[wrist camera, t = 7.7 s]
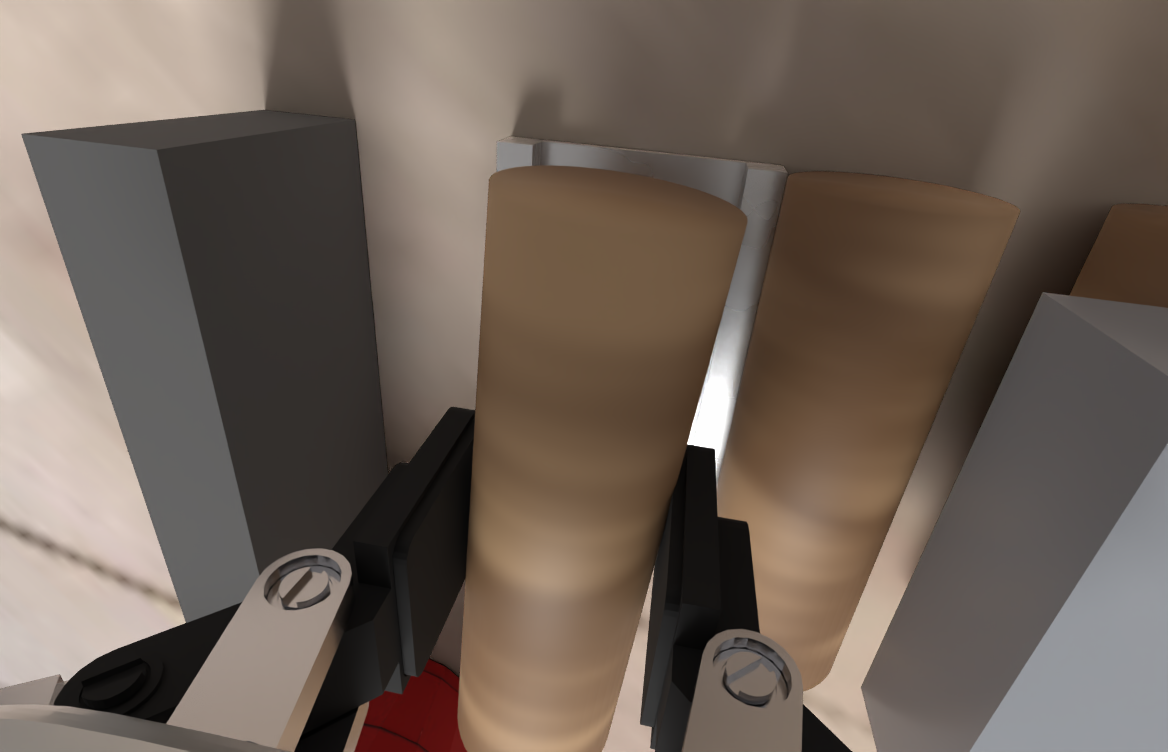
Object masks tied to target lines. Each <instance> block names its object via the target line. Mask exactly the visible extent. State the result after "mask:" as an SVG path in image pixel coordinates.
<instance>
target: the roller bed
mask: <svg viewBox="0 0 1168 752" xmlns="http://www.w3.org/2000/svg"><path fill="white" fill-rule="evenodd" d="M1019 214H1020V210H1019V208H1017V207H1016V206H1014V205H1012V204H1010V203H1008V202H1005V201H1003V200H1000V199H997V198H994V197H990V196H987V195H983V194H979V193H976V192H972V191H967V190H963V189H959V188H954V187H949V186H944V185H939V184H933V183H928V182H922V181H916V180H910V179H903V178H896V177H888V176H880V175H871V174H861V173H849V172H830V171H809V172H798V173H794V174H791V175H789V176H788V178H787V183H786V187H785V191H784V196H783V200H782V205H781V209H780V213H779V218H778V222H777V226H776V231H775V235H774V240H773V244H772V248H771V253H770V257H769V261H768V266H767V270H766V275H765V279H764V283H763V288H762V292H761V296H760V301H759V305H758V310H757V314H756V318H755V323H754V327H753V332H752V336H751V340H750V345H749V349H748V353H747V358H746V362H745V367H744V371H743V375H742V380H741V384H740V388H739V393H738V397H737V402H736V406H735V410H734V415H733V419H732V424H731V428H730V432H729V437H728V441H727V445H726V450H725V454H724V459H723V463H722V467H721V472H720V476H719V480H718V485H717V513H718V517H723V518H729V519H735V520H740V521H746V522H747V523H748V526H749V533H750V542H751V552H752V561H753V571H754V580H755V590H756V599H757V609H758V619H759V628H760V634H762V635H764V636H767V637H769V638H771V639H772V640H774V641H775V642H776V643H778V644H779V645H780V646H782V647H783V648H784V649H785V650H786V651H787V652H788V654H789V655H790V656H791V657H792V658H793V659H794V661H795V663H796V665H797V667H798V669H799V671H800V673H801V677H802V684H803V691H806V690H809V689H811V688H813V687H815V686H816V685H818V684H819V683H821V682H822V681H823V680H824V679H825V678H826V677H827V675H828V674H829V672H830V670H831V668H832V665H833V663H834V661H835V658H836V656H837V653H838V651H839V649H840V646H841V644H842V641H843V639H844V636H845V634H846V632H847V629H848V627H849V624H850V622H851V620H852V617H853V615H854V612H855V610H856V607H857V605H858V603H859V600H860V598H861V595H862V593H863V591H864V588H865V586H866V583H867V581H868V578H869V576H870V574H871V571H872V569H873V566H874V564H875V562H876V559H877V557H878V554H879V552H880V549H881V547H882V545H883V542H884V540H885V537H886V535H887V533H888V530H889V528H890V525H891V523H892V520H893V518H894V516H895V513H896V511H897V508H898V506H899V504H900V501H901V499H902V496H903V494H904V491H905V489H906V487H907V484H908V482H909V479H910V477H911V475H912V472H913V470H914V467H915V465H916V463H917V460H918V458H919V455H920V453H921V450H922V448H923V446H924V443H925V441H926V438H927V436H928V434H929V431H930V429H931V426H932V424H933V421H934V419H935V417H936V414H937V412H938V409H939V407H940V405H941V402H942V400H943V397H944V395H945V392H946V390H947V388H948V385H949V383H950V380H951V378H952V376H953V373H954V371H955V368H956V366H957V363H958V361H959V359H960V356H961V354H962V351H963V349H964V347H965V344H966V342H967V339H968V337H969V334H970V332H971V330H972V327H973V325H974V322H975V320H976V318H977V315H978V313H979V310H980V308H981V305H982V303H983V301H984V298H985V296H986V293H987V291H988V289H989V286H990V284H991V281H992V279H993V276H994V274H995V272H996V269H997V267H998V264H999V262H1000V260H1001V257H1002V255H1003V252H1004V250H1005V248H1006V245H1007V243H1008V240H1009V238H1010V235H1011V233H1012V231H1013V228H1014V226H1015V223H1016V221H1017V219H1018V216H1019ZM1069 296H1077V297H1085V298H1093V299H1101V300H1109V301H1117V302H1125V303H1133V304H1141V305H1149V306H1157V307H1165V308H1168V206H1162V205H1150V204H1117V205H1113V206H1112V208H1111V210H1110V212H1109V214H1108V216H1107V218H1106V220H1105V222H1104V224H1103V226H1102V228H1101V230H1100V233H1099V235H1098V237H1097V239H1096V241H1095V243H1094V245H1093V247H1092V249H1091V251H1090V253H1089V255H1088V257H1087V259H1086V262H1085V264H1084V266H1083V268H1082V270H1081V272H1080V274H1079V276H1078V278H1077V280H1076V282H1075V284H1074V286H1073V288H1072V290H1071V293H1070V295H1069Z"/></svg>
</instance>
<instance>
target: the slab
mask: <svg viewBox="0 0 1168 752" xmlns="http://www.w3.org/2000/svg"><path fill="white" fill-rule="evenodd" d="M861 689H862V693H863V697H864V701H865V705H866V709H867V713H868V717H869V721H870V725H871V729H872V733H873V737H874V741H875V745H876V749H877V752H1168V308H1165V307H1157V306H1149V305H1141V304H1133V303H1125V302H1117V301H1109V300H1101V299H1093V298H1085V297H1077V296H1069V295H1061V294H1053V293H1045V292H1042V295H1041V297H1040V299H1039V301H1038V303H1037V306H1036V308H1035V310H1034V312H1033V314H1032V316H1031V319H1030V321H1029V323H1028V325H1027V327H1026V329H1025V332H1024V334H1023V336H1022V338H1021V340H1020V342H1019V345H1018V347H1017V349H1016V351H1015V353H1014V356H1013V358H1012V360H1011V362H1010V364H1009V366H1008V369H1007V371H1006V373H1005V375H1004V377H1003V379H1002V382H1001V384H1000V386H999V388H998V390H997V393H996V395H995V397H994V399H993V401H992V403H991V406H990V408H989V410H988V412H987V414H986V416H985V419H984V421H983V423H982V425H981V427H980V430H979V432H978V434H977V436H976V438H975V440H974V443H973V445H972V447H971V449H970V451H969V453H968V456H967V458H966V460H965V462H964V464H963V466H962V469H961V471H960V473H959V475H958V477H957V480H956V482H955V484H954V486H953V488H952V490H951V493H950V495H949V497H948V499H947V501H946V503H945V506H944V508H943V510H942V512H941V514H940V517H939V519H938V521H937V523H936V525H935V527H934V530H933V532H932V534H931V536H930V538H929V540H928V543H927V545H926V547H925V549H924V551H923V553H922V556H921V558H920V560H919V562H918V564H917V567H916V569H915V571H914V573H913V575H912V577H911V580H910V582H909V584H908V586H907V588H906V590H905V593H904V595H903V597H902V599H901V601H900V604H899V606H898V608H897V610H896V612H895V614H894V617H893V619H892V621H891V623H890V625H889V627H888V630H887V632H886V634H885V636H884V638H883V640H882V643H881V645H880V647H879V649H878V651H877V654H876V656H875V658H874V660H873V662H872V664H871V667H870V669H869V671H868V673H867V675H866V677H865V680H864V682H863V684H862V686H861Z"/></svg>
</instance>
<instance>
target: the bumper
mask: <svg viewBox="0 0 1168 752" xmlns="http://www.w3.org/2000/svg"><path fill="white" fill-rule="evenodd" d="M21 135H22V138H23V141H24V144H25V147H26V149H27V152H28V155H29V158H30V161H31V164H32V167H33V170H34V173H35V176H36V179H37V182H38V185H39V188H40V191H41V194H42V197H43V200H44V203H45V206H46V209H47V212H48V215H49V218H50V221H51V224H52V227H53V230H54V233H55V235H56V238H57V241H58V244H59V247H60V250H61V253H62V256H63V259H64V262H65V265H66V268H67V271H68V274H69V277H70V280H71V283H72V286H73V289H74V292H75V295H76V298H77V301H78V304H79V307H80V310H81V313H82V316H83V318H84V321H85V324H86V327H87V330H88V333H89V336H90V339H91V342H92V345H93V348H94V351H95V354H96V357H97V360H98V363H99V366H100V369H101V372H102V375H103V378H104V381H105V384H106V387H107V390H108V393H109V396H110V399H111V402H112V404H113V407H114V410H115V413H116V416H117V419H118V422H119V425H120V428H121V431H122V434H123V437H124V440H125V443H126V446H127V449H128V452H129V455H130V458H131V461H132V464H133V467H134V470H135V473H136V476H137V479H138V482H139V485H140V488H141V490H142V493H143V496H144V499H145V502H146V505H147V508H148V511H149V514H150V517H151V520H152V523H153V526H154V529H155V532H156V535H157V538H158V541H159V544H160V547H161V550H162V553H163V556H164V559H165V562H166V565H167V568H168V571H169V573H170V576H171V579H172V582H173V585H174V588H175V591H176V594H177V597H178V600H179V603H180V606H181V609H182V612H183V615H184V618H185V621H186V623H188V622H190V621H193V620H196V619H198V618H201V617H204V616H206V615H209V614H212V613H214V612H217V611H220V610H222V609H225V608H228V607H230V606H233V605H236V604H238V603H241V602H243V600H244V599H245V597H246V596H247V594H248V592H249V591H250V589H251V588H252V586H253V584H254V583H255V581H256V580H257V578H258V577H259V576H260V575H261V573H262V572H263V571H264V570H265V569H266V568H267V567H268V566H270V565H271V564H272V563H274V562H275V561H276V560H278V559H280V558H282V557H284V556H286V555H288V554H290V553H293V552H297V551H301V550H305V549H317V548H322V549H328V550H332V548H333V547H334V546H335V544H336V543H337V542H338V540H339V539H340V538H341V536H342V535H343V534H344V532H345V531H346V530H347V528H348V527H349V526H350V524H351V523H352V522H353V520H354V519H355V518H356V517H357V515H358V514H359V513H360V511H361V510H362V509H363V507H364V506H365V505H366V503H367V502H368V501H369V499H370V498H371V497H372V495H373V494H374V493H375V491H376V490H377V489H378V488H379V486H380V485H381V484H382V482H383V481H384V480H385V478H386V477H387V476H388V469H387V458H386V447H385V437H384V426H383V415H382V404H381V394H380V383H379V372H378V362H377V351H376V340H375V329H374V319H373V308H372V297H371V286H370V276H369V265H368V254H367V244H366V233H365V222H364V211H363V201H362V190H361V179H360V168H359V158H358V147H357V136H356V125H355V120H353V119H344V118H334V117H325V116H316V115H306V114H297V113H287V112H278V111H268V110H259V111H249V112H238V113H228V114H218V115H208V116H198V117H188V118H178V119H167V120H157V121H147V122H137V123H127V124H117V125H106V126H96V127H86V128H76V129H66V130H56V131H46V132H35V133H25V134H21Z"/></svg>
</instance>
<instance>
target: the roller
mask: <svg viewBox="0 0 1168 752" xmlns="http://www.w3.org/2000/svg"><path fill="white" fill-rule="evenodd" d="M747 222H748V218H747V216H746V215H745V214H744V213H743V211H742V210H740V209H739V208H737V207H736V206H734V205H733V204H731V203H729V202H727V201H725V200H723V199H721V198H719V197H716V196H714V195H711V194H709V193H706V192H703V191H700V190H697V189H694V188H691V187H687V186H684V185H680V184H677V183H673V182H669V181H665V180H661V179H656V178H651V177H647V176H642V175H636V174H631V173H625V172H619V171H612V170H605V169H596V168H586V167H574V166H553V165H539V166H522V167H514V168H508V169H505V170H501V171H498V172H496V173H494V174H493V175H492V176H491V177H490V179H489V189H488V206H487V223H486V240H485V257H484V274H483V291H482V307H481V324H480V341H479V358H478V375H477V392H476V409H475V426H474V443H473V460H472V477H471V494H470V511H469V528H468V544H467V561H466V578H465V595H464V612H463V629H462V646H461V663H460V680H459V697H458V727H459V732H460V736H461V739H462V741H463V744H464V747H465V749H466V750H467V752H602V750H603V748H604V746H605V743H606V740H607V738H608V734H609V730H610V727H611V723H612V719H613V716H614V712H615V708H616V705H617V701H618V697H619V694H620V690H621V686H622V683H623V679H624V675H625V671H626V668H627V664H628V660H629V657H630V653H631V649H632V646H633V642H634V638H635V635H636V631H637V627H638V624H639V620H640V616H641V613H642V609H643V605H644V602H645V598H646V594H647V591H648V587H649V583H650V579H651V576H652V572H653V568H654V565H655V561H656V557H657V554H658V550H659V546H660V543H661V539H662V535H663V532H664V528H665V524H666V520H667V516H668V511H669V507H670V503H671V498H672V494H673V491H674V488H675V486H676V484H677V480H678V476H679V473H680V469H681V465H682V462H683V458H684V454H685V451H686V447H687V443H688V440H689V436H690V432H691V429H692V425H693V421H694V418H695V414H696V410H697V407H698V403H699V399H700V396H701V392H702V388H703V384H704V381H705V377H706V373H707V370H708V366H709V362H710V359H711V355H712V351H713V348H714V344H715V340H716V337H717V333H718V329H719V326H720V322H721V318H722V315H723V311H724V307H725V304H726V300H727V296H728V293H729V289H730V285H731V281H732V278H733V274H734V270H735V267H736V263H737V259H738V256H739V252H740V248H741V245H742V241H743V237H744V234H745V230H746V226H747Z"/></svg>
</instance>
